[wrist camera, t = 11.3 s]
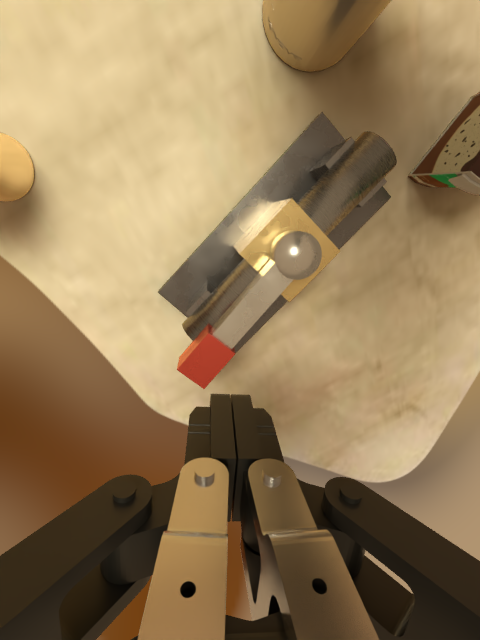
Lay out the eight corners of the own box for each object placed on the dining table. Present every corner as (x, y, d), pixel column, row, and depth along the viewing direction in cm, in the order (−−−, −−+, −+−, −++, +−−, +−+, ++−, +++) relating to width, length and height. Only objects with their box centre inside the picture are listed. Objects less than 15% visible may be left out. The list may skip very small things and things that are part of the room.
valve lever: (289, 220, 27) (297, 221, 25) (321, 250, 28) (331, 253, 26) (175, 354, 30) (172, 366, 27) (207, 377, 31) (207, 391, 28)
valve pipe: (318, 114, 33) (356, 79, 25) (386, 197, 36) (441, 191, 28) (159, 290, 37) (143, 312, 28) (231, 352, 40) (238, 389, 31)
